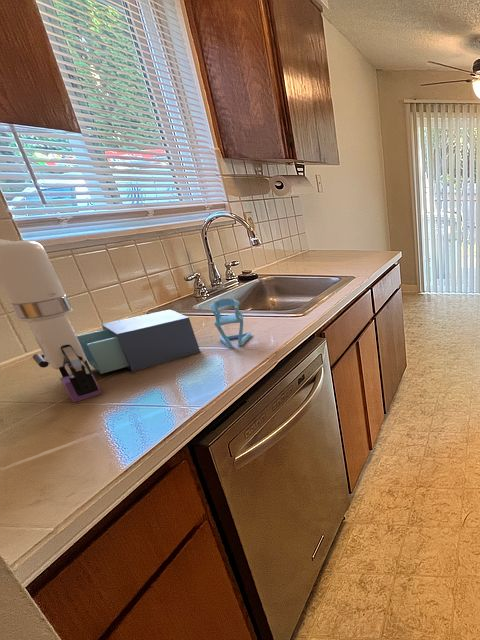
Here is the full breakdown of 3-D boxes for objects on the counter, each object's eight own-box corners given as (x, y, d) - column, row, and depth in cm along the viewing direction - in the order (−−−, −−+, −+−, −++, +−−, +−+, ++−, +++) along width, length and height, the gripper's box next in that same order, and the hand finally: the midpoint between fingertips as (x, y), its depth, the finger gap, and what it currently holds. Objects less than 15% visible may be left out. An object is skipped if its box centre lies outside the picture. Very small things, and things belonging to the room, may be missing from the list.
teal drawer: (52, 390, 85) (35, 356, 82) (41, 376, 91) (25, 345, 88) (159, 359, 99) (147, 330, 96) (143, 349, 105) (132, 321, 102)
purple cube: (74, 402, 82) (64, 383, 80) (68, 396, 84) (59, 377, 82) (101, 393, 85) (93, 375, 83) (95, 388, 87) (87, 370, 85)
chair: (219, 350, 106) (205, 306, 101) (220, 340, 113) (208, 299, 108) (251, 344, 110) (240, 302, 105) (251, 335, 116) (240, 295, 111)
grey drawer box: (132, 371, 95) (116, 334, 91) (116, 359, 102) (100, 324, 98) (200, 351, 105) (188, 317, 101) (181, 342, 112) (170, 309, 108)
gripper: (8, 306, 79) (48, 383, 86) (23, 321, 69) (68, 406, 76) (59, 297, 84) (94, 370, 91) (80, 310, 75) (117, 390, 82)
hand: (82, 386), depth 84 cm, fingers open, 9 cm apart
